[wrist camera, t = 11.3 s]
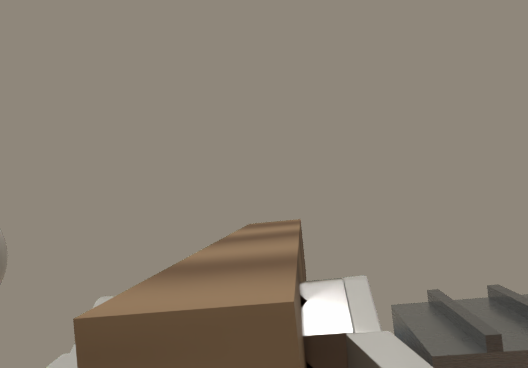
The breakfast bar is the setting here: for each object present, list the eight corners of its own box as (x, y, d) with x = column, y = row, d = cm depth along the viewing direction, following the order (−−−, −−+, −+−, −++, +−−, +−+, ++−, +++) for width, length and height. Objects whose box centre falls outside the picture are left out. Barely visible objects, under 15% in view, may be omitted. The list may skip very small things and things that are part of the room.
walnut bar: (318, 537, 6) (294, 301, 6) (92, 544, 6) (72, 319, 6) (305, 270, 26) (300, 219, 26) (254, 275, 26) (249, 223, 26)
